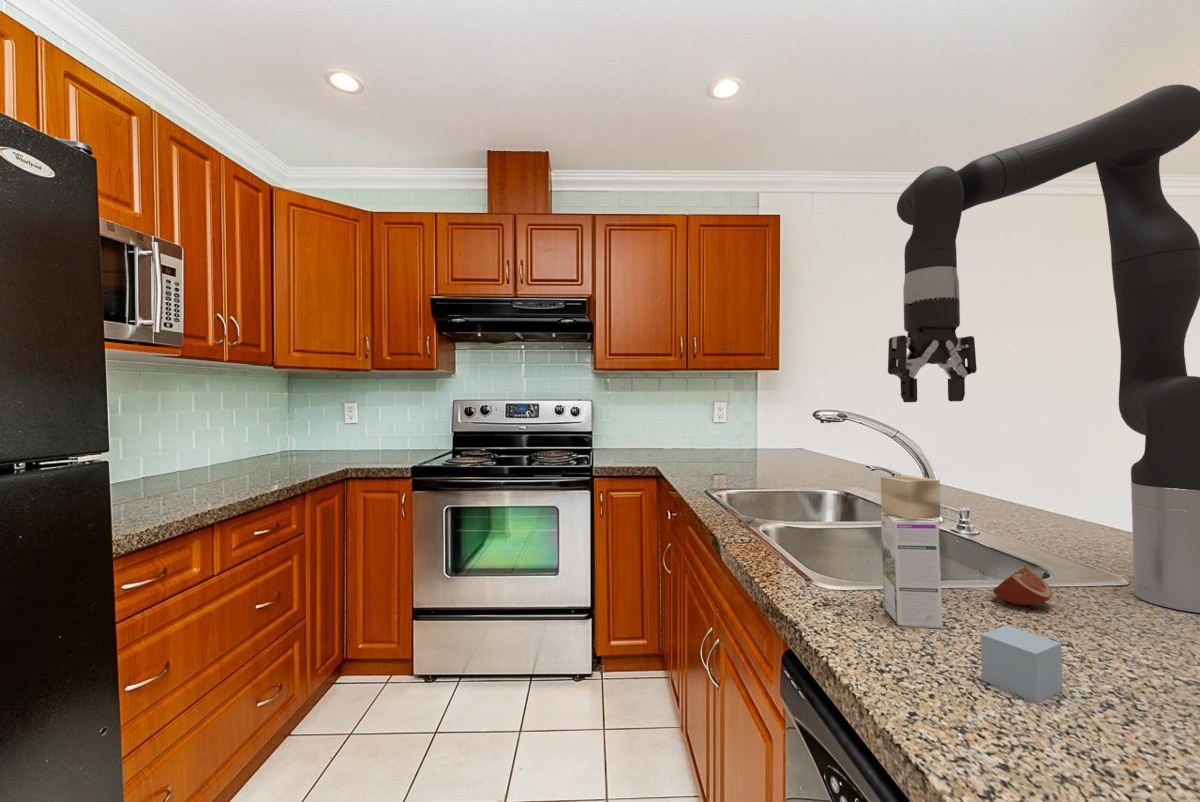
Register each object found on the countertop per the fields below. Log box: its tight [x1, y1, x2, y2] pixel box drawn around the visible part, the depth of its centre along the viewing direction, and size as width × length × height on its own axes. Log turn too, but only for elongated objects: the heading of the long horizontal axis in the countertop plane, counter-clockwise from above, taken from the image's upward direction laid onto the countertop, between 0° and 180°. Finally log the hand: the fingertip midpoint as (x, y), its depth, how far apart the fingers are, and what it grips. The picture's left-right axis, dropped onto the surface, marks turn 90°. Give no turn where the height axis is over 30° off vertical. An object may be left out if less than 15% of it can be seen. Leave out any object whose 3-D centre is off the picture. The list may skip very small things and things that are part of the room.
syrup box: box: [880, 512, 943, 629], centre depth 72 cm, size 6×6×14 cm
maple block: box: [880, 475, 941, 519], centre depth 72 cm, size 5×5×5 cm
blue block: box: [980, 625, 1063, 704], centre depth 55 cm, size 5×5×5 cm
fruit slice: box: [992, 565, 1053, 606], centre depth 77 cm, size 8×7×5 cm
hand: (933, 401), depth 82 cm, fingers open, 8 cm apart
